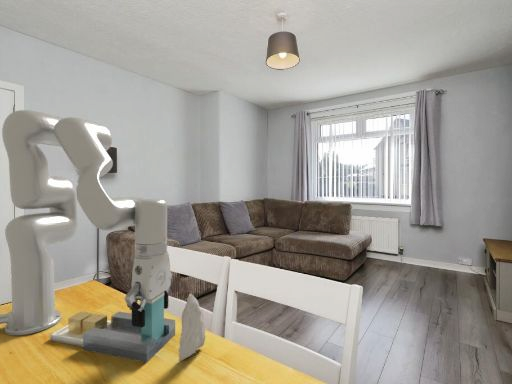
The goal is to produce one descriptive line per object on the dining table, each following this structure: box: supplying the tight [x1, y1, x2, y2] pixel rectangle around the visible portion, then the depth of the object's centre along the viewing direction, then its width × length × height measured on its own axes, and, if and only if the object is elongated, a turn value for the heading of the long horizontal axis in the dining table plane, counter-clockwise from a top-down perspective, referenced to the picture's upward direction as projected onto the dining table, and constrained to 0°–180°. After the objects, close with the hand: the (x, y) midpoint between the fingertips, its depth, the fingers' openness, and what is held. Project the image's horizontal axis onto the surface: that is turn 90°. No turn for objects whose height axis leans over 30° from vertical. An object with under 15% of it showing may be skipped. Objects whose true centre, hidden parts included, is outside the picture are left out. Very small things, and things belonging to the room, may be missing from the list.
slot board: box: [82, 311, 176, 363], centre depth 71 cm, size 18×12×4 cm, turn 75°
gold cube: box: [83, 313, 108, 333], centre depth 74 cm, size 4×4×4 cm
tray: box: [49, 319, 111, 348], centre depth 75 cm, size 11×10×2 cm
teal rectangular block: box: [139, 292, 165, 341], centre depth 69 cm, size 3×5×11 cm, turn 165°
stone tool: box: [178, 293, 206, 362], centre depth 65 cm, size 8×3×15 cm, turn 150°
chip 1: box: [67, 311, 94, 335], centre depth 75 cm, size 4×4×4 cm
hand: (151, 316), depth 69 cm, fingers open, 9 cm apart
